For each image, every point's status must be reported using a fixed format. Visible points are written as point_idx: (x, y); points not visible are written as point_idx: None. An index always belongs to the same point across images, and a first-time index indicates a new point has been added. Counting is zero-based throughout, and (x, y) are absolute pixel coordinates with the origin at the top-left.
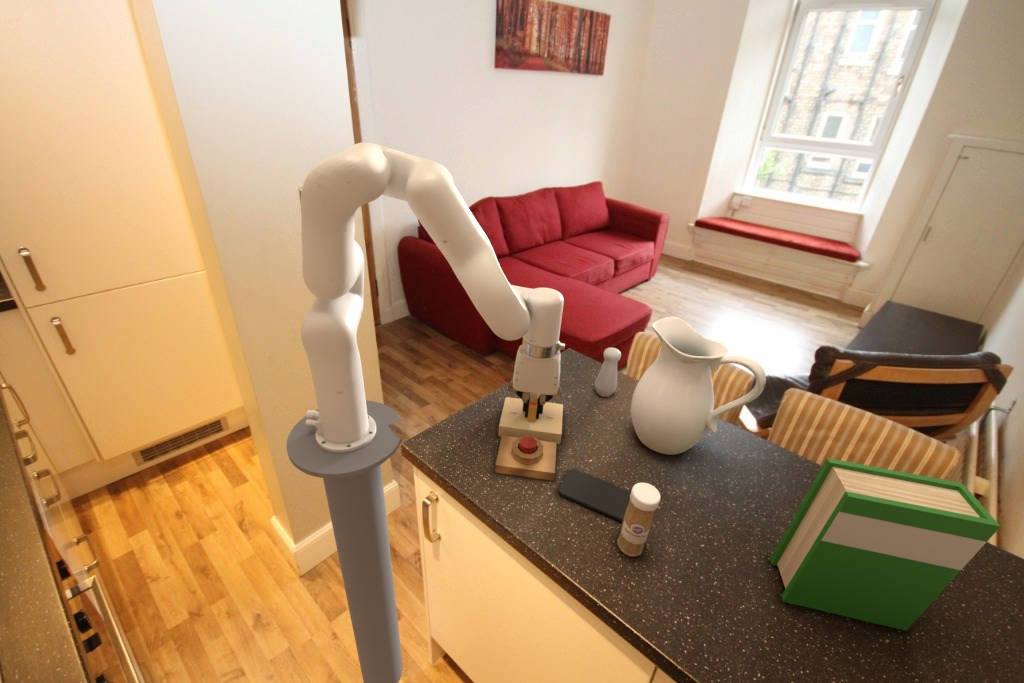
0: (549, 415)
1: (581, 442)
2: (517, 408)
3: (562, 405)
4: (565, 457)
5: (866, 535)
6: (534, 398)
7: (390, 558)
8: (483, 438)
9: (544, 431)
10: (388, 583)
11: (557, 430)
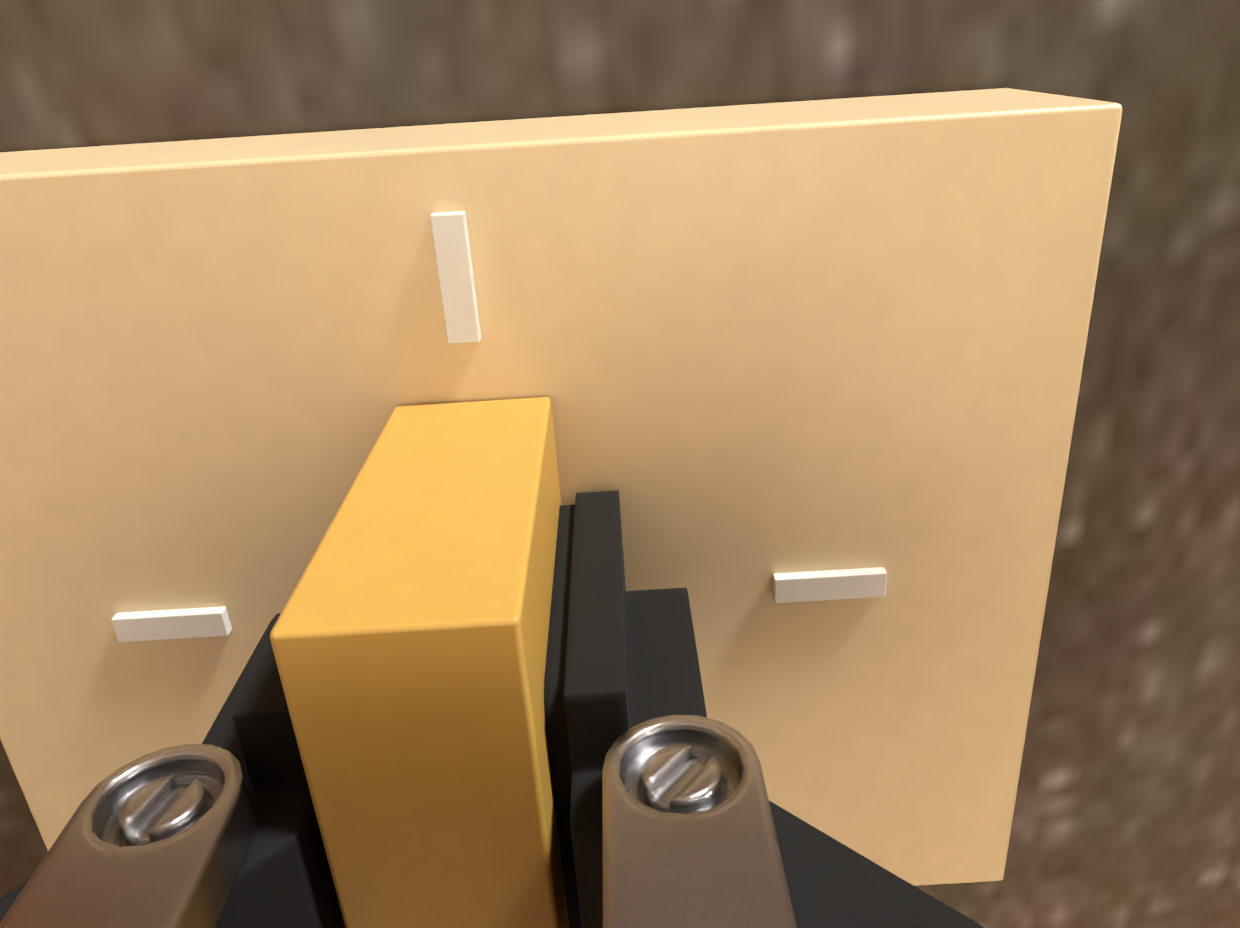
0: (815, 552)
1: (1225, 649)
2: (184, 514)
3: (1106, 158)
4: (987, 889)
5: None
6: (455, 891)
7: None
8: (19, 852)
9: None
10: None
11: (946, 834)
